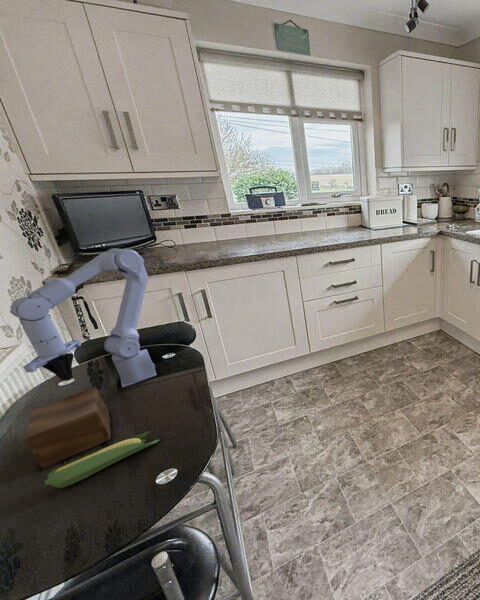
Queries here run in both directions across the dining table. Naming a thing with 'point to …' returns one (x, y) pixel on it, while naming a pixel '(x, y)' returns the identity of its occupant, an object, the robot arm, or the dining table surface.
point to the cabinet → (67, 427)
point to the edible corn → (95, 461)
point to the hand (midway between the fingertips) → (67, 379)
